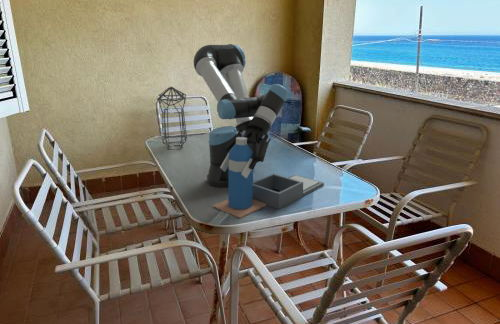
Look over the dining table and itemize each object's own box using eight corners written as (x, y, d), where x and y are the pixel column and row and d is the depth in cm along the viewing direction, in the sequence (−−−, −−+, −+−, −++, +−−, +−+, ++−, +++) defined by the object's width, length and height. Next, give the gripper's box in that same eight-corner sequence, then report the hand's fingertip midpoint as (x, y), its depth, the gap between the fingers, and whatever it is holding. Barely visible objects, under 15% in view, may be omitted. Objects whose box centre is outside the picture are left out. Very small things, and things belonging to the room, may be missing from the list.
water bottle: (223, 206, 131) (223, 139, 123) (233, 197, 139) (234, 134, 131) (247, 211, 128) (249, 142, 120) (256, 201, 136) (258, 136, 128)
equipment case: (248, 198, 140) (248, 183, 138) (294, 177, 162) (295, 164, 160) (279, 209, 131) (279, 193, 129) (323, 185, 152) (324, 171, 150)
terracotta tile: (213, 206, 133) (213, 205, 133) (239, 195, 143) (239, 194, 143) (240, 218, 124) (240, 216, 124) (266, 205, 134) (266, 203, 134)
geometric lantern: (189, 143, 218) (186, 84, 207) (188, 151, 204) (185, 88, 192) (162, 144, 216) (157, 85, 205) (160, 152, 202) (154, 89, 190)
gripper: (291, 132, 128) (262, 185, 122) (245, 123, 143) (217, 170, 137) (282, 119, 123) (251, 175, 117) (235, 112, 138) (205, 161, 132)
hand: (233, 172), depth 127 cm, fingers open, 10 cm apart
